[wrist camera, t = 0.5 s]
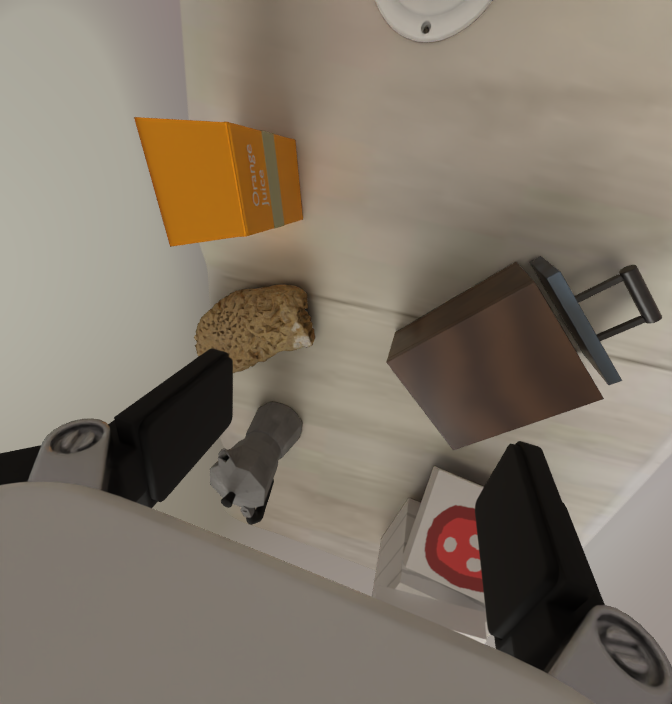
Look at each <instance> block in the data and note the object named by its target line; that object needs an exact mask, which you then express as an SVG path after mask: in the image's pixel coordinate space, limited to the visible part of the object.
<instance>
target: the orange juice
mask: <svg viewBox="0 0 672 704" xmlns="http://www.w3.org/2000/svg"><path fill="white" fill-rule="evenodd" d="M134 119H135V122H136V126H137V129H138V133H139V137H140V140H141V144H142V147H143V151H144V154H145V158H146V161H147V165H148V169H149V172H150V176H151V179H152V183H153V187H154V190H155V194H156V197H157V201H158V205H159V208H160V212H161V215H162V219H163V222H164V226H165V230H166V233H167V237H168V240H169V244H170V247H171V246H177V245H185V244H192V243H199V242H205V241H212V240H219V239H226V238H233V237H246V236H249V235H253V234H256V233H259V232H263V231H266V230H269V229H273V228H278V227H281V226H284V225H286V224H289V223H292V222H296V221H299V220H302V219H303V215H302V204H301V194H300V183H299V173H298V163H297V152H296V142H295V140H294V139H290V138H286V137H283V136H279V135H275V134H273V133H270V132H266V131H262V130H256V129H252V128H248V127H245V126H241V125H237V124H233V123H229V122H210V121H193V120H175V119H174V120H173V119H157V118H140V117H134Z"/></svg>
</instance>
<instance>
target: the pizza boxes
mask: <svg viewBox="0 0 672 704" xmlns="http://www.w3.org/2000/svg"><path fill="white" fill-rule="evenodd" d="M483 488H484V487H483V486H481V485H478V484H476V483H473V482H471V481H469V480H466V479H464V478H462V477H459V476H457V475H455V474H452V473H450V472H447V471H445V470H443V469H440V468H438V467H436V466H434V467H433V470H432V473H431V476H430V479H429V481H428V484H427V487H426V490H425V493H424V496H423V499H422V501H421V503H420V502H417V501H415V500H413V499H410V498H408V499H407V501H406V502H405V504H404V505H403V507H402V508H401V510H400V511H399V513H398V514H397V516H396V517H395V519H394V520H393V522H392V523H391V525H390V526H389V528H388V529H387V531H386V533H385V534H384V536H383V537H382V539H381V543H380V549H379V555H378V561H377V567H376V573H375V580H374V586H373V592H372V597H373V598H376V599H378V600H381V601H383V602H385V603H388V604H390V605H393V606H395V607H398V608H400V609H402V610H405V611H407V612H410V613H412V614H415V615H417V616H419V617H422V618H424V619H427V620H429V621H432V622H434V623H436V624H439V625H441V626H444V627H446V628H448V629H451V630H453V631H455V632H458V633H460V634H462V635H465V636H467V637H469V638H471V639H474V640H476V641H478V642H481V643H483V644H485V645H486V641H487V637H488V636H490V635H491V634H490V633H489V631H488V627H487V619H486V610H485V600H484V591H483V582H482V573H481V564H480V554H479V545H478V536H477V527H476V517H475V504H476V500H477V498H478V496H479V495H480V493H481V491H482V490H483Z"/></svg>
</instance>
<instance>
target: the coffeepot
mask: <svg viewBox="0 0 672 704" xmlns="http://www.w3.org/2000/svg"><path fill="white" fill-rule="evenodd" d="M301 430H302V422H301V420H300V418H299V416H298V415H297V414H296V413H295V411H293V410H292V409H291V408H290V407H288V406H286V405H284V404H281V403H275V402H270V403H267V404H265V405H264V406H262V407H260V408H258V410H257V412H256V414H255V416H254V418H253V420H252V422H251V425H250V427H249V429H248V431H247V433H246V437H245V439H243V440H241V441H239V442H238V443H237V444H236V445H235V446H234V447H232V448H231V449H229V450H226V449H222V450H221V451H220V452H219V457H218V461H217V462H216V463H215V464H214V465H213V466H212V467H211V468H210V485H211V486H212V487H213V488H214V489H215V490H216V491H217V492H218V493H219V494H220V496H221V497H222V498H223V499H222V500H221V503H222V504H223V505H224V506H225V507H228V508H229V507H231V506H232V504H234V505H237V506H239V507H242V508H241V512H242V514H243V516H245V517H246V520H247V522H248V523H249V524H250V525H252V524H255V523H258V522H260V521H261V520H262V518H263V515H264V512H265V508H266V505H267V502H268V499H269V496H270V493H271V489H272V486H273V483H274V479H273V478H274V475H275V472H276V470H277V466H278V460H279V459H281V458H282V457H283V456H284V455H285V454H286V453H287V452H288V451H289V449H290V448H291V447H292V446H293V445H294V444H295V442H296V441H297V440H298V439H299V438H300V434H301ZM255 507H257V508H256V509H255Z"/></svg>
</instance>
